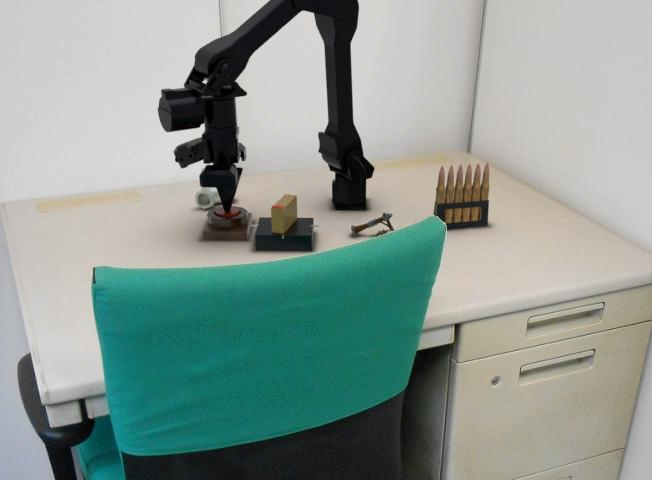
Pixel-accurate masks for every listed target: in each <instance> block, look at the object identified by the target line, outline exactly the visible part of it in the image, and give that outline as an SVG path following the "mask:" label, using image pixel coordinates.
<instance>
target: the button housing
mask: <svg viewBox="0 0 652 480" xmlns="http://www.w3.org/2000/svg"><path fill="white" fill-rule="evenodd" d="M221 207H223V206H222V205H221V206H216V207H213V208H211V209H209V210H208V211H207V213H206V218H207V219H206V222H205V225H204V228H203V230H202V237H203V241H248V239H249V235H250V232H251V228H252V226H251V225H253V213H252V212H248V210H247V209H246V208H244V207H241V206H237V205H232V206H231V207H235V208H238V209H239V215H237V216H233V217H219V216H216V215H215V210H216V209H218V208H221Z"/></svg>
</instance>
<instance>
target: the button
mask: <svg viewBox="0 0 652 480" xmlns="http://www.w3.org/2000/svg"><path fill="white" fill-rule="evenodd" d="M220 207H221V206H220ZM215 215H216V216H219V217H233V216H237V215H239V209H238V208H235V207H231V210H230V211H224V208H223V207H221V208H218V209H216V210H215Z"/></svg>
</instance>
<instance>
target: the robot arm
mask: <svg viewBox="0 0 652 480" xmlns="http://www.w3.org/2000/svg"><path fill="white" fill-rule="evenodd" d="M301 12H307V13H311V14H313V16H314V21H315V26H316V29H317V31H318V33H319V35H320V38H321V39H322V42H323V46H324V47H323V48H324V63H325V64H324V65H325V83H326V102H327V104H326V105H327V125H326V127H325V129H324V131H318V133H317V137H318V142H319V144H318V145H319V146H318V151H317V152H318V153H319V154H321V158H322V160H323V162H325V163H326V164H327V166H328V169H329V171H330V172H333V173H334V179H332V180H331V203H332V204H333V205H334V210H367V209H368V204H367V180H369V179H373V175H374V172H375V169H376V168H375V166H374V165H373V164H372V163H371V162H370V161H369V160H368V159H367V158H366V157H365V154H364V148H363V143H362V139H361V136H360V134H359V131H358V130H357V127H356V125H355V122H354V100H353V73H352V72H353V70H352V41H353V39H354V36H355V34H356V32H357V29H358V24H359V15H360V14H359V13H360V3H359V0H268V1H267V2H266V3H265V4H264V5H262V6H261V7H260V8H259V9H258V10H256V11H255V12H254V14H252V15H251V16H249V18H247V20H245V21H244V22H243V23H242V24H241V25H240V26H238V27H236V29H235V30H233V31H232V32H230V33H228V34H226V35H223V36H221V37H218V38H215V39H213V40H211V41H210V42H208V43H207V44H205V45H203V46H201V47H200V48H199V49H198V50H197V52H195V54H194V62H193V63H194V65H193V67H192V68H191V70H190V72H189V74H188V76H187V78H186V79H185V82H184V83H183V87H179V88H162V89H161V90H160V94H161V95H160V96H161V97H160V98H159V100H158V107H157V114H158V119H159V122H160V125H161V128H162V129H163V130H164V131H165V132H166V133H173V132H180V131H188V130H193V129H199V128H200V127H201V126H202V125H204V131H203V133H201V136H200V137H197V138H194V139H191V140H189V141H186V142H183V143H181V144H178V145H177V146H176V147H175V148H174V150H173V155H174V162H175V163H178V165H179V167H180V169H185V168H188V167H189V166H191V165H194V164H195V163H199V162H201V161H202V162H203V164H204V165H205V166H204V167H203V168H202V169H201V171H200V173H199V175H198V177H199V186H200V187H201V188H203V187H213V188H216V189H217V191H218V194H219V197H220V200H221V206H223V208H224V211H230V210H231V206H233V203H234V200H235V197H236V195H235V193H236V191H237V190H238V187H239V183H240V180H241V177H242V173H243V170H244V168H243V167H238V166H237V165H236V164H239V162H240V160H241V162H245V161H246V160H247V147H246V146H245V145H244V144H243V143H242V142H239V135H240V126H238V115H237V101H236V98H241V97H246V96H247V95H248V92H247V91H246V90H244V89H243V88H242V86H240V84H239V83H238V82H237V80H238V78H240V76H241V75H242V73H243V72H244V71H245V70H246V68H247V65H248V63H249V61H250V59H251V57H252V56H253V54H254V53H255V52H256V51H258V50H259V49H260V48H261V47H262V46H263V45H264V44H265V43H267V42H268V41H269V40H270V39H271V38H272V37H274V36H275V35H276V34H277V33H278V32H279V31H280V30H282V29H283V28H284V27H285V26H286V25H287V24H289V23H290V22H291V21H292V20H293V19H294V18H296V17H297V15H299V14H301ZM204 81H206V83H205V82H204Z"/></svg>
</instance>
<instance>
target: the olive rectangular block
mask: <svg viewBox="0 0 652 480" xmlns="http://www.w3.org/2000/svg"><path fill="white" fill-rule="evenodd" d="M270 217H271V222H272V233H278V234H284V233H285V232H286V231H287V230H288V229H289V228H290V227H291V225H292V224H293V223H294V222H295V221H296V220H297V218H298V196H297V194H290V193H289V194H287V193H285V194H284V195H283V196H282V197H281V198H280V199H279V200H277V202H276V203H275V204H273V205H272V206H271V208H270Z"/></svg>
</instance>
